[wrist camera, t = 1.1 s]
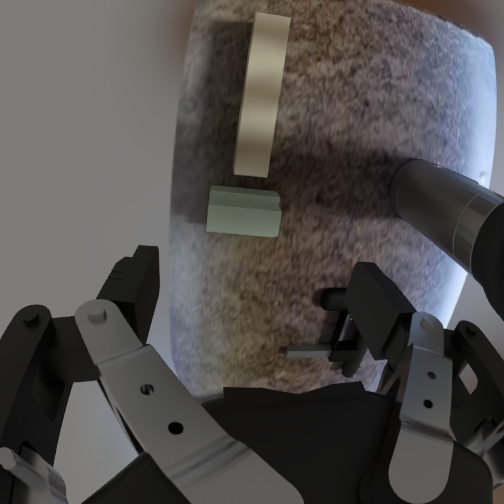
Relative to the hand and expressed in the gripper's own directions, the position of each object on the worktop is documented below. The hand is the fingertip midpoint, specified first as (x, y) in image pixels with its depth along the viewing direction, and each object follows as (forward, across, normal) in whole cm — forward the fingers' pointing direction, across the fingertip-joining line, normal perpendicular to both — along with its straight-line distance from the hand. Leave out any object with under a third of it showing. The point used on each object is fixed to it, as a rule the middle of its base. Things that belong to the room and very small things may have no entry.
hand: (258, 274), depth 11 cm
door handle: (+25, -20, +26) cm, 41 cm away
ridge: (+25, -1, +6) cm, 25 cm away
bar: (+25, -2, -8) cm, 26 cm away
